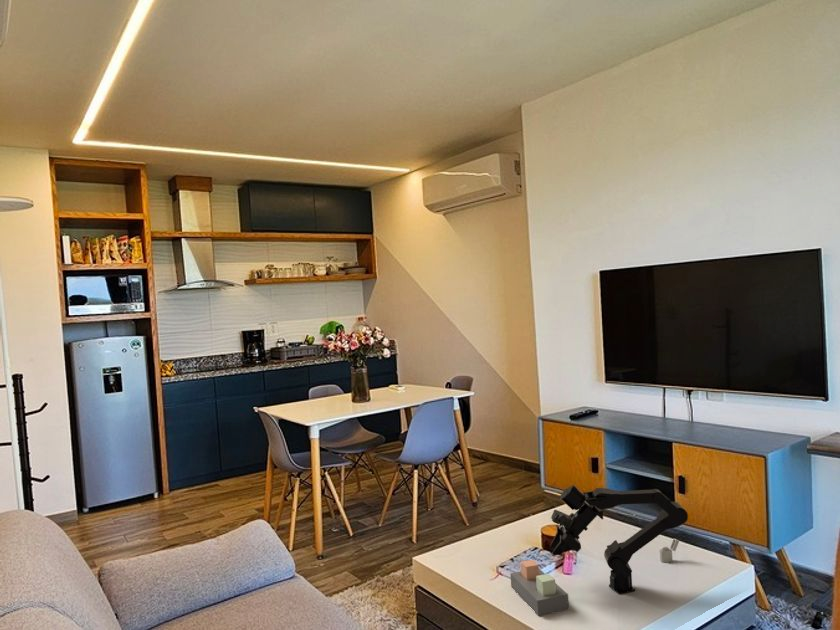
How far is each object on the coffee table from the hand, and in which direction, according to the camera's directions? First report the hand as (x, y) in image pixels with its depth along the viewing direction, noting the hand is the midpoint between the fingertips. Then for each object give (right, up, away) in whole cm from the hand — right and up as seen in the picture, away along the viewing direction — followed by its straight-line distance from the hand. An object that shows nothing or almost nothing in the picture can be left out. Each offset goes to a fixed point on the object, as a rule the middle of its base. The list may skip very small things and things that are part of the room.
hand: (551, 551), depth 208 cm
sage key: (-4, -10, -11) cm, 15 cm away
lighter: (+49, -11, +17) cm, 53 cm away
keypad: (-5, -14, -5) cm, 16 cm away
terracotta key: (-7, -10, +1) cm, 12 cm away
